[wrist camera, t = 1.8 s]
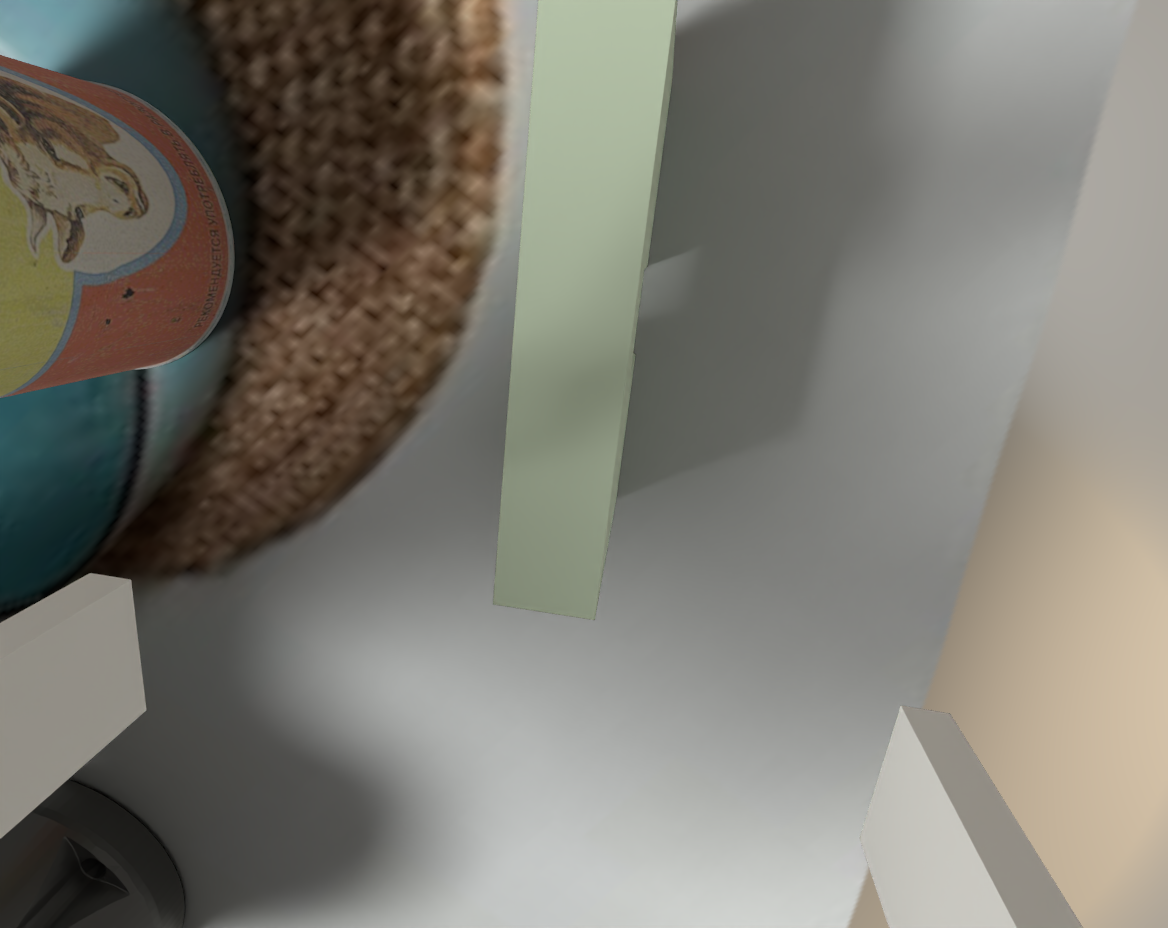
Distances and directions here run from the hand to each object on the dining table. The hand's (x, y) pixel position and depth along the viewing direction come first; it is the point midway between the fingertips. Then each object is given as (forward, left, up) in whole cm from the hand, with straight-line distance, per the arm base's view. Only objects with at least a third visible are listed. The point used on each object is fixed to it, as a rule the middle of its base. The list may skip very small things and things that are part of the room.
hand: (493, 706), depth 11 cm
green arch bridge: (0, +5, -18) cm, 18 cm away
